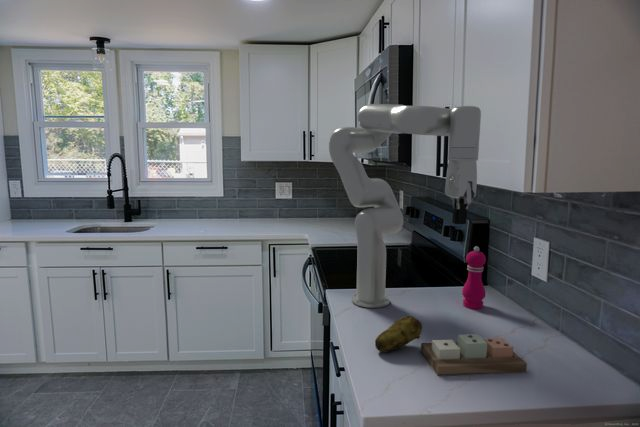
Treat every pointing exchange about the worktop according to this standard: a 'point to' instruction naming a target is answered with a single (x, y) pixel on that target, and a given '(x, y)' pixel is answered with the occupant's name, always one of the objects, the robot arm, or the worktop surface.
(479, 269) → the pepper mill
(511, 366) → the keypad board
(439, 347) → the one-pip tile
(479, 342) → the two-pip tile
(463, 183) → the robot arm
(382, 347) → the potato
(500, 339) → the three-pip tile
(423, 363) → the worktop surface
